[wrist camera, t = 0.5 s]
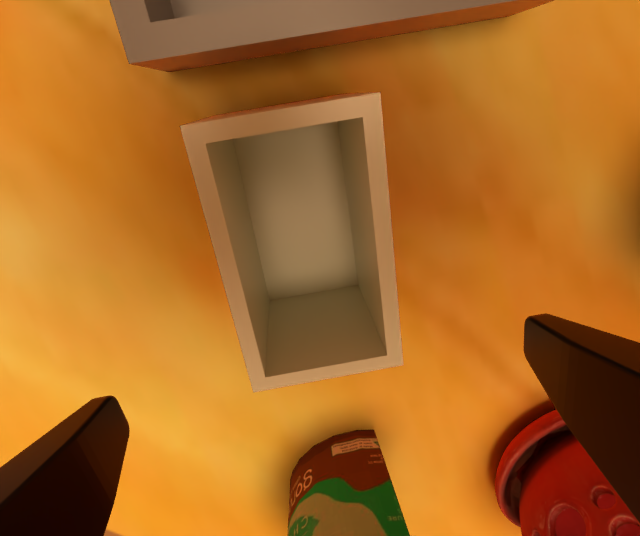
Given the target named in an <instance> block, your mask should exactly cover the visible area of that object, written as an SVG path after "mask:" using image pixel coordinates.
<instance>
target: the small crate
mask: <svg viewBox="0 0 640 536" xmlns="http://www.w3.org/2000/svg"><path fill="white" fill-rule="evenodd" d="M180 129H181V133H182V136H183V140H184V144H185V147H186V151H187V154H188V158H189V162H190V165H191V169H192V172H193V176H194V180H195V183H196V187H197V191H198V194H199V198H200V201H201V205H202V209H203V212H204V216H205V219H206V223H207V227H208V230H209V234H210V238H211V241H212V245H213V248H214V252H215V256H216V259H217V263H218V266H219V270H220V274H221V277H222V281H223V284H224V288H225V292H226V295H227V299H228V303H229V306H230V310H231V313H232V317H233V321H234V324H235V328H236V331H237V335H238V339H239V342H240V346H241V349H242V353H243V357H244V360H245V364H246V368H247V371H248V375H249V378H250V382H251V386H252V389H253V392H258V391H264V390H269V389H275V388H280V387H286V386H291V385H297V384H302V383H308V382H313V381H319V380H324V379H330V378H335V377H341V376H346V375H352V374H357V373H363V372H368V371H374V370H379V369H385V368H390V367H396V366H401V365H403V354H402V342H401V330H400V318H399V307H398V295H397V283H396V271H395V259H394V247H393V235H392V223H391V211H390V200H389V188H388V176H387V164H386V152H385V140H384V128H383V116H382V104H381V93H380V92H376V93H346V94H340V95H334V96H328V97H322V98H316V99H310V100H304V101H298V102H292V103H286V104H280V105H274V106H268V107H262V108H256V109H250V110H244V111H238V112H232V113H226V114H220V115H214V116H211V117H208V118H204V119H201V120H198V121H194V122H191V123H188V124H184V125H181V126H180Z"/></svg>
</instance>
